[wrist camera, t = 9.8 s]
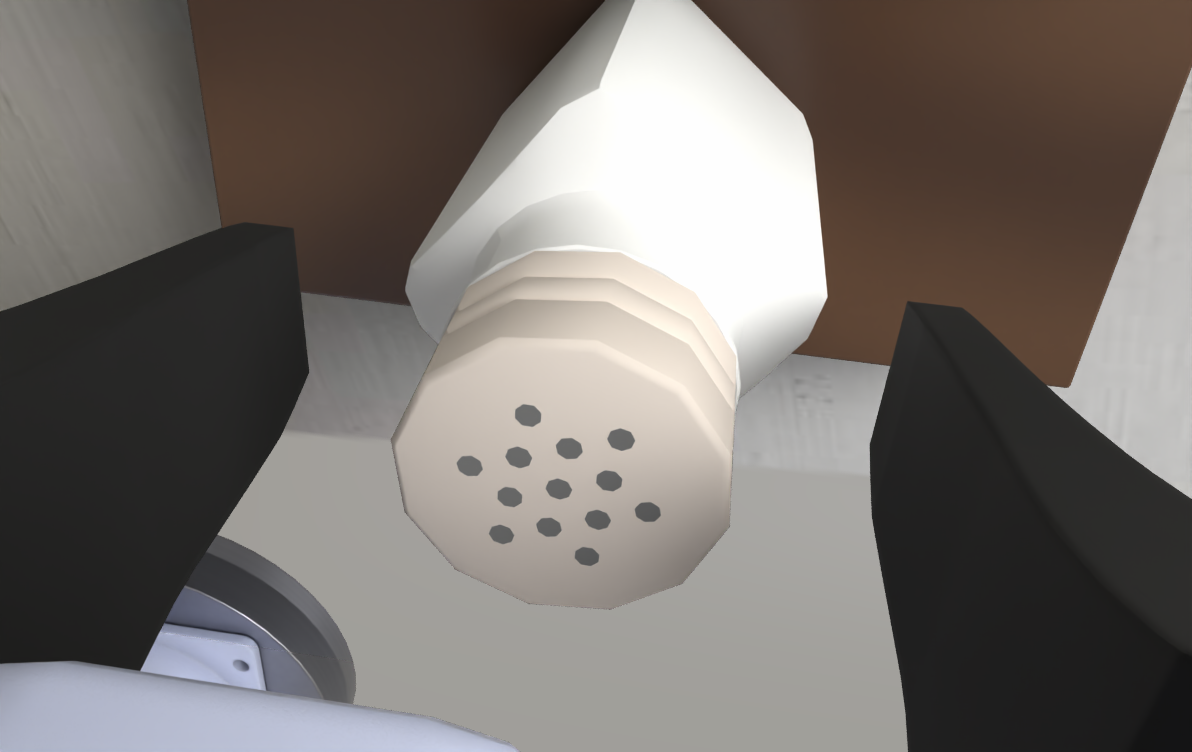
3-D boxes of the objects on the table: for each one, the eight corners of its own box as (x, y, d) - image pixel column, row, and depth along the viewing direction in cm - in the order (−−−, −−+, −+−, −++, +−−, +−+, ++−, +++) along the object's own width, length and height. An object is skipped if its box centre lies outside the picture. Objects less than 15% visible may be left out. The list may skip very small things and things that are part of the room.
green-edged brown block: (1031, 297, 22) (1123, 516, 16) (296, 210, 23) (138, 384, 17) (1217, -258, 16) (1463, -228, 11) (237, -331, 18) (-22, -341, 12)
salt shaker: (656, 277, 19) (577, 697, 11) (488, 126, 18) (265, 473, 10) (826, 127, 17) (877, 505, 9) (650, -54, 16) (533, 200, 8)
